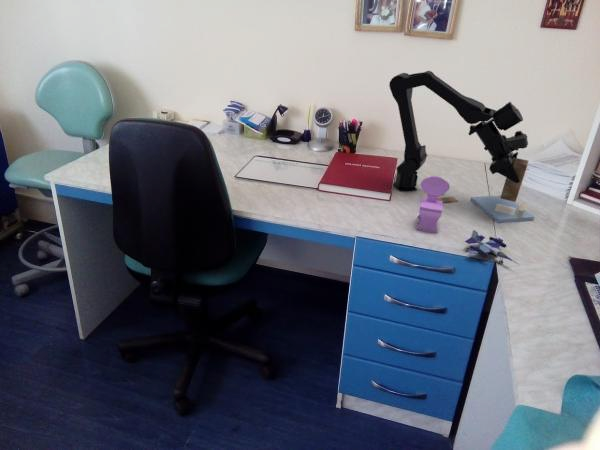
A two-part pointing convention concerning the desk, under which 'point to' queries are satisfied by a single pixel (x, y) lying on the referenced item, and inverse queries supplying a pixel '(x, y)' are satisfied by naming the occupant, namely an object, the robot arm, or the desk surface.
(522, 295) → the desk surface
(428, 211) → the toy chair
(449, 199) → the wing slat
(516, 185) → the block
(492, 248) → the toy airplane
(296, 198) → the desk surface
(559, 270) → the desk surface
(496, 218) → the board
